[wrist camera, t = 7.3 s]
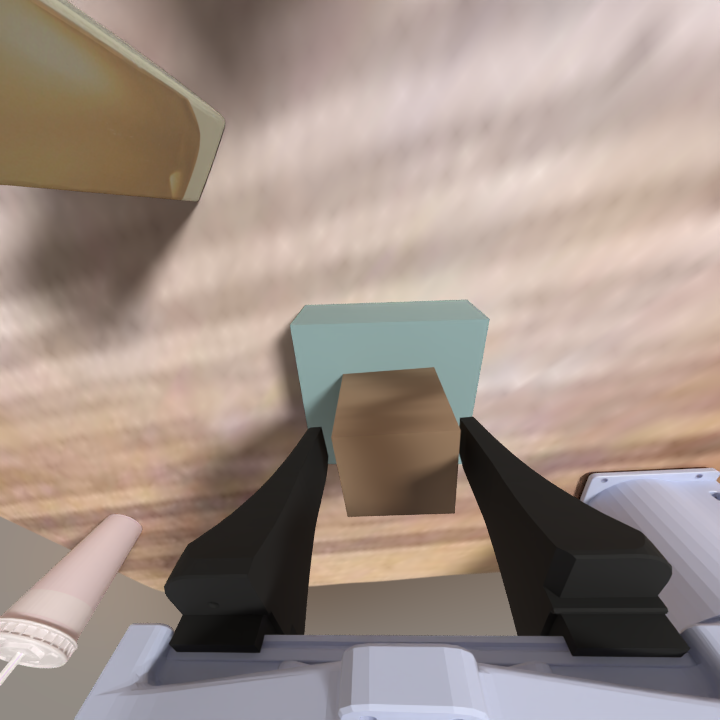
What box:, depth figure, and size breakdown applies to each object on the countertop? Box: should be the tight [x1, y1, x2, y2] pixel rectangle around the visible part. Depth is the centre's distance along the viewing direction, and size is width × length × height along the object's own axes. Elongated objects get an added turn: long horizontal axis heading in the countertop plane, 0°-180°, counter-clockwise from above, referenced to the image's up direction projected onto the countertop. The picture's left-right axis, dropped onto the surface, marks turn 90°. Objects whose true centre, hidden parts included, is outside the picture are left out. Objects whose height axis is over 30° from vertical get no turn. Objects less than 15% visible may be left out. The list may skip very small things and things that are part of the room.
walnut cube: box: [331, 367, 461, 517], centre depth 14 cm, size 5×5×5 cm
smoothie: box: [0, 514, 142, 686], centre depth 23 cm, size 6×6×14 cm
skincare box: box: [0, 0, 225, 201], centre depth 8 cm, size 6×4×12 cm
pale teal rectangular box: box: [290, 300, 490, 464], centre depth 18 cm, size 10×10×4 cm
